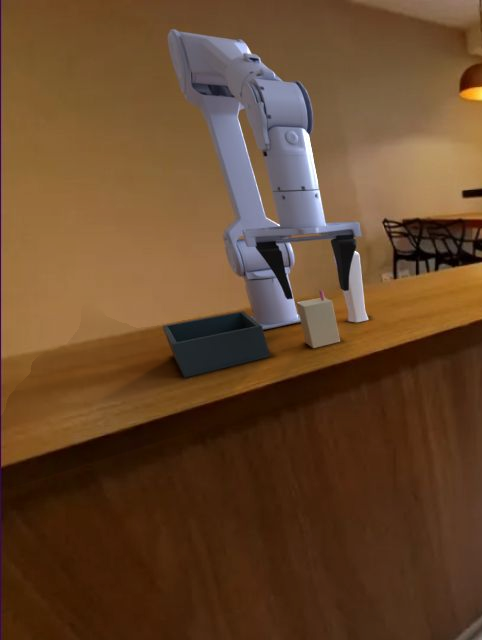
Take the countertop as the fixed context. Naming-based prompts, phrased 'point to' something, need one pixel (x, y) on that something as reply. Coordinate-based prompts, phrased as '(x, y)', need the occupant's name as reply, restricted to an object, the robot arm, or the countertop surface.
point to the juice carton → (318, 321)
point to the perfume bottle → (355, 292)
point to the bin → (216, 342)
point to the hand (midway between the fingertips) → (317, 293)
